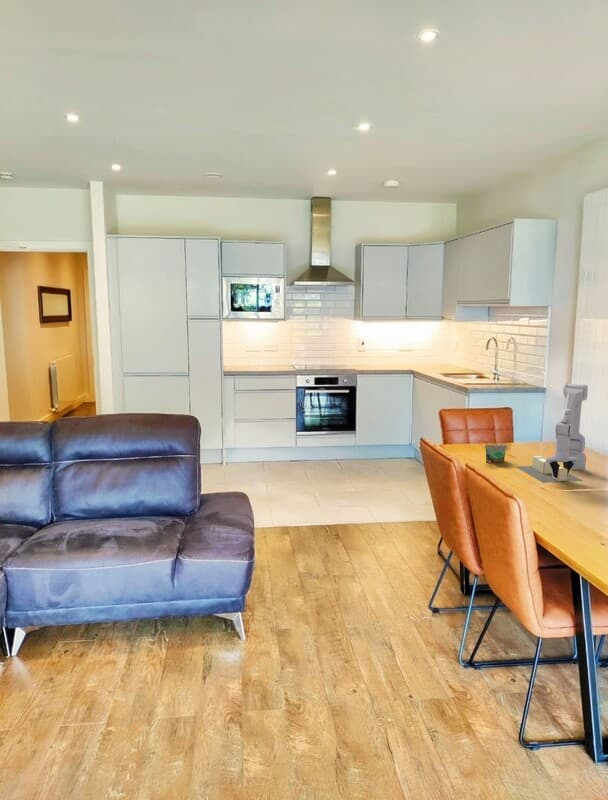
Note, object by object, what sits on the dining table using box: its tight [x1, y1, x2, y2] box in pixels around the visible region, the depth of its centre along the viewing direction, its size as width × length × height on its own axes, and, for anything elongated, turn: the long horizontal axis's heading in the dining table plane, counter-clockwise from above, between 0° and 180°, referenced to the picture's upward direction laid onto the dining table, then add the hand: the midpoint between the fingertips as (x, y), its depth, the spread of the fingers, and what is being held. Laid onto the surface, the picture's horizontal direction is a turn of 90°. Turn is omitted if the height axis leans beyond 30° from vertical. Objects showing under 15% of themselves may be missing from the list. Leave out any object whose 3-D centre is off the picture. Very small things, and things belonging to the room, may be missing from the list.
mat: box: [515, 465, 584, 484], centre depth 266 cm, size 20×26×1 cm
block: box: [552, 466, 568, 481], centre depth 256 cm, size 4×5×5 cm
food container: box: [484, 442, 508, 465], centre depth 285 cm, size 12×6×10 cm, turn 105°
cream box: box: [531, 455, 552, 474], centre depth 271 cm, size 4×11×6 cm, turn 6°
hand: (560, 477), depth 255 cm, fingers open, 4 cm apart
